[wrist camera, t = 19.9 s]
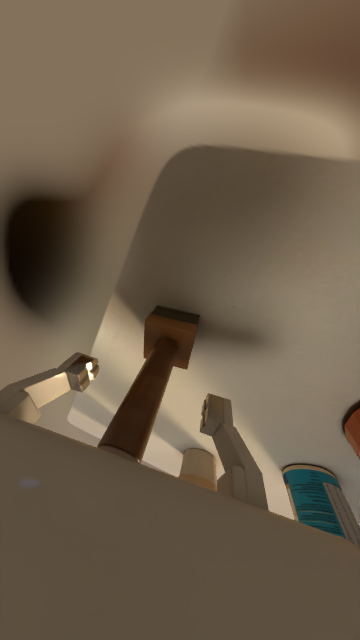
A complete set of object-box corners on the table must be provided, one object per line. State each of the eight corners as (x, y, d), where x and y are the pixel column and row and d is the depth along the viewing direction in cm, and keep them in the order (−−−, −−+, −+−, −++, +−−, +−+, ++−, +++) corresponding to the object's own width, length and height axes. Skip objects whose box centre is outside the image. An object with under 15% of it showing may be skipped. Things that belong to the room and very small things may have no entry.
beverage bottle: (348, 473, 25) (614, 966, 8) (318, 488, 30) (453, 832, 13) (293, 457, 26) (432, 867, 9) (272, 474, 31) (340, 774, 14)
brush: (156, 305, 18) (62, 417, 7) (200, 315, 17) (170, 453, 6) (154, 339, 20) (82, 459, 9) (191, 349, 20) (160, 488, 9)
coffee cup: (194, 467, 37) (182, 590, 24) (171, 447, 34) (144, 574, 22) (229, 466, 33) (236, 613, 20) (206, 444, 30) (197, 596, 18)
